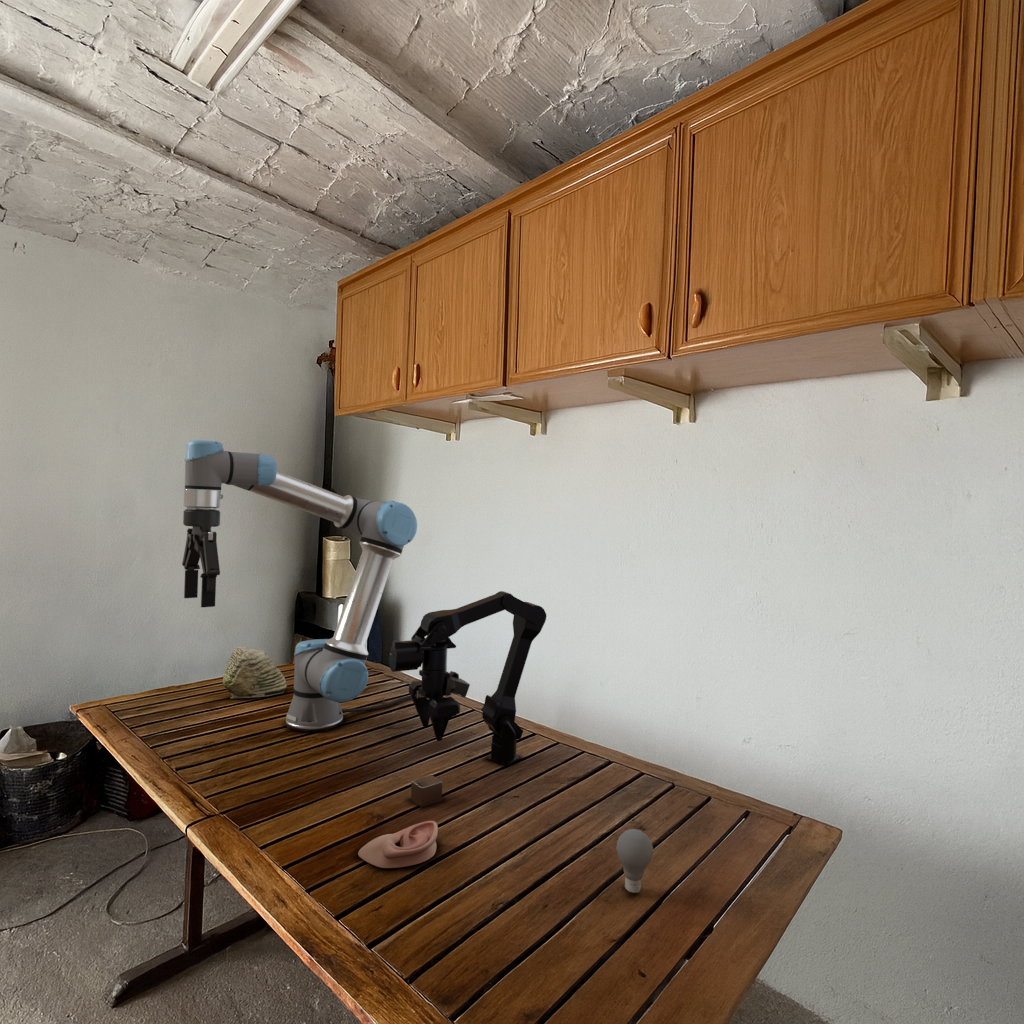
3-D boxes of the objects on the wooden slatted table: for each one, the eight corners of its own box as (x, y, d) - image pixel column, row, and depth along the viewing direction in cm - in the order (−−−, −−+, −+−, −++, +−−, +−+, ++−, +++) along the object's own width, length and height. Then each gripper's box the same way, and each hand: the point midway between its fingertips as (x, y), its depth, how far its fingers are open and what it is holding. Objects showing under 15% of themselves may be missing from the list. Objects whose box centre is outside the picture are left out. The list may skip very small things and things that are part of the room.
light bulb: (610, 879, 108) (613, 822, 108) (644, 879, 109) (647, 822, 109) (619, 902, 102) (622, 840, 102) (655, 901, 103) (658, 840, 103)
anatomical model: (350, 840, 110) (378, 809, 121) (349, 863, 110) (377, 829, 121) (423, 852, 107) (444, 819, 118) (422, 875, 107) (443, 840, 118)
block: (421, 807, 131) (422, 788, 131) (410, 800, 134) (411, 780, 134) (441, 800, 134) (442, 781, 134) (430, 793, 137) (431, 774, 137)
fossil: (218, 695, 195) (220, 647, 195) (278, 685, 208) (279, 640, 207) (228, 703, 189) (230, 653, 188) (289, 692, 201) (290, 645, 201)
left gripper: (237, 511, 137) (234, 609, 137) (203, 507, 155) (200, 593, 156) (200, 510, 132) (196, 612, 132) (170, 506, 150) (167, 595, 151)
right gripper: (482, 674, 143) (480, 742, 144) (451, 655, 160) (449, 716, 160) (436, 679, 138) (433, 750, 139) (409, 658, 155) (407, 722, 155)
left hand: (199, 602), depth 144 cm, fingers open, 13 cm apart
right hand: (432, 733), depth 148 cm, fingers open, 9 cm apart
